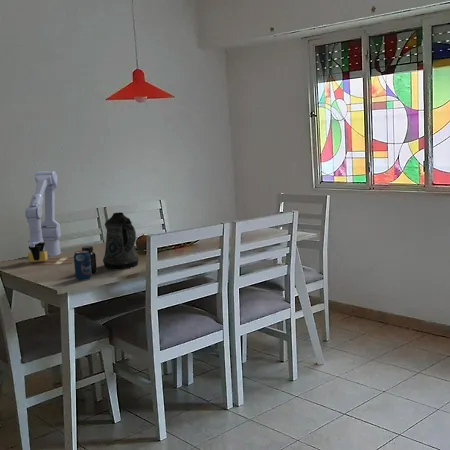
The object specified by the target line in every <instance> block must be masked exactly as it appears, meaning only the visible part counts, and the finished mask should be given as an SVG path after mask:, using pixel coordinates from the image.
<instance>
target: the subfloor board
mask: <svg viewBox="0 0 450 450" xmlns="http://www.w3.org/2000/svg"><path fill="white" fill-rule="evenodd" d="M73 263H74V256H71V257H70V256H67V257H51V258H49V257H48V259H47V260H46V261H34V262H29V260H28V261H26V262H25V263H24V264H23V265H21V267H35V266H37V267H38V266H39V267H41V266H56V265H57V266H59V265H72V264H73Z"/></svg>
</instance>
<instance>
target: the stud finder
mask: <svg viewBox="0 0 450 450" xmlns="http://www.w3.org/2000/svg"><path fill="white" fill-rule="evenodd" d="M48 258H49V256H48V255H47V251H45V250H43V251H40V253H39V260H34V258H33V255H32V252H31V251H30V252H29V253H27V259H28V261H29V262H34V261H46V260H47V259H48Z"/></svg>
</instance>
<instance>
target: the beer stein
mask: <svg viewBox="0 0 450 450" xmlns="http://www.w3.org/2000/svg"><path fill="white" fill-rule="evenodd" d="M132 223H133V222H132V221H131V219H130V218H129V217H128V216H126V215H125V214H124V213H123V212H114V213H113V214H112V215H111V217H110V218H108V219H107V220H106V221H105V222H104V228H105V229H106V236H105V237H106V238H105V251H104V255H103V259H102V262H103V266H104V268H105V269H106V270H115V269H118V270H126V268H127V269H132V268H135V267H137V266H138V265H139V261H140V260H139V257H140V256H139V255H138V253H137V251H136V247H135V242H136V238H137V233H136V229H135V227H134V226H133V224H132ZM131 267H132V268H131ZM115 271H116V270H115Z"/></svg>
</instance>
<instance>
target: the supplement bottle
mask: <svg viewBox="0 0 450 450" xmlns="http://www.w3.org/2000/svg"><path fill="white" fill-rule="evenodd" d="M82 250H87V251H88V252H89V254H90V259H91V271H92V275H93V274H96V273H97V271H98V268H97V258H96V257H97V256H96V255H97V254H96V253H95V252H94V248H93V246H92V245H85V246H82V247H81V251H82Z"/></svg>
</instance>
